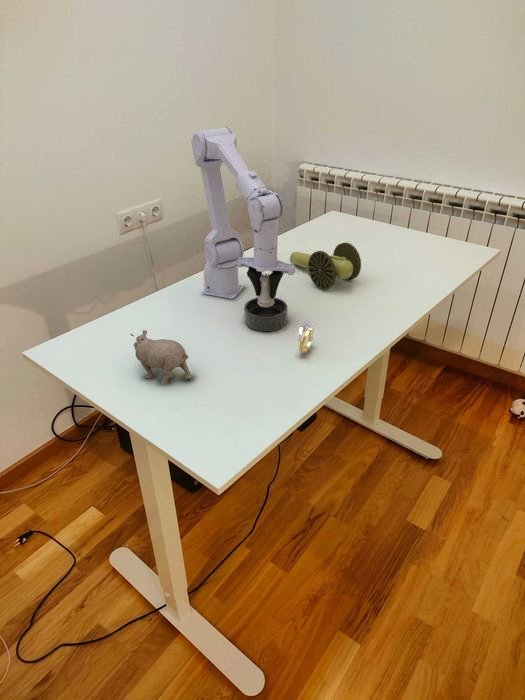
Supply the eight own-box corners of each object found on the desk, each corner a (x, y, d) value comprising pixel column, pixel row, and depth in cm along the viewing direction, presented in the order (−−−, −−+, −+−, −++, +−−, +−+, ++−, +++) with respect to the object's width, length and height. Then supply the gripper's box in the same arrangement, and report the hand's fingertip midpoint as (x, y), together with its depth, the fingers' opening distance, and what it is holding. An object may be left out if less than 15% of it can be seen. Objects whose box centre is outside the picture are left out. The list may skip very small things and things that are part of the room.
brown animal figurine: (177, 390, 105) (145, 324, 103) (144, 400, 114) (115, 340, 113) (203, 375, 110) (173, 313, 108) (170, 386, 120) (143, 329, 118)
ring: (304, 361, 117) (305, 332, 113) (292, 357, 119) (293, 328, 114) (317, 347, 122) (319, 318, 118) (306, 343, 124) (307, 315, 119)
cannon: (279, 268, 160) (280, 234, 153) (307, 258, 166) (309, 225, 159) (334, 297, 143) (337, 260, 137) (363, 285, 149) (367, 249, 143)
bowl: (238, 328, 130) (237, 313, 127) (254, 308, 138) (254, 293, 136) (278, 336, 126) (278, 320, 124) (292, 315, 135) (293, 300, 132)
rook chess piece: (272, 309, 127) (273, 280, 123) (255, 307, 128) (255, 279, 124) (276, 300, 131) (276, 272, 126) (259, 299, 132) (258, 271, 127)
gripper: (231, 247, 120) (233, 298, 127) (288, 256, 115) (287, 307, 123) (242, 237, 125) (244, 286, 133) (298, 244, 121) (296, 295, 128)
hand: (265, 295), depth 128 cm, fingers closed on rook chess piece, 3 cm apart
